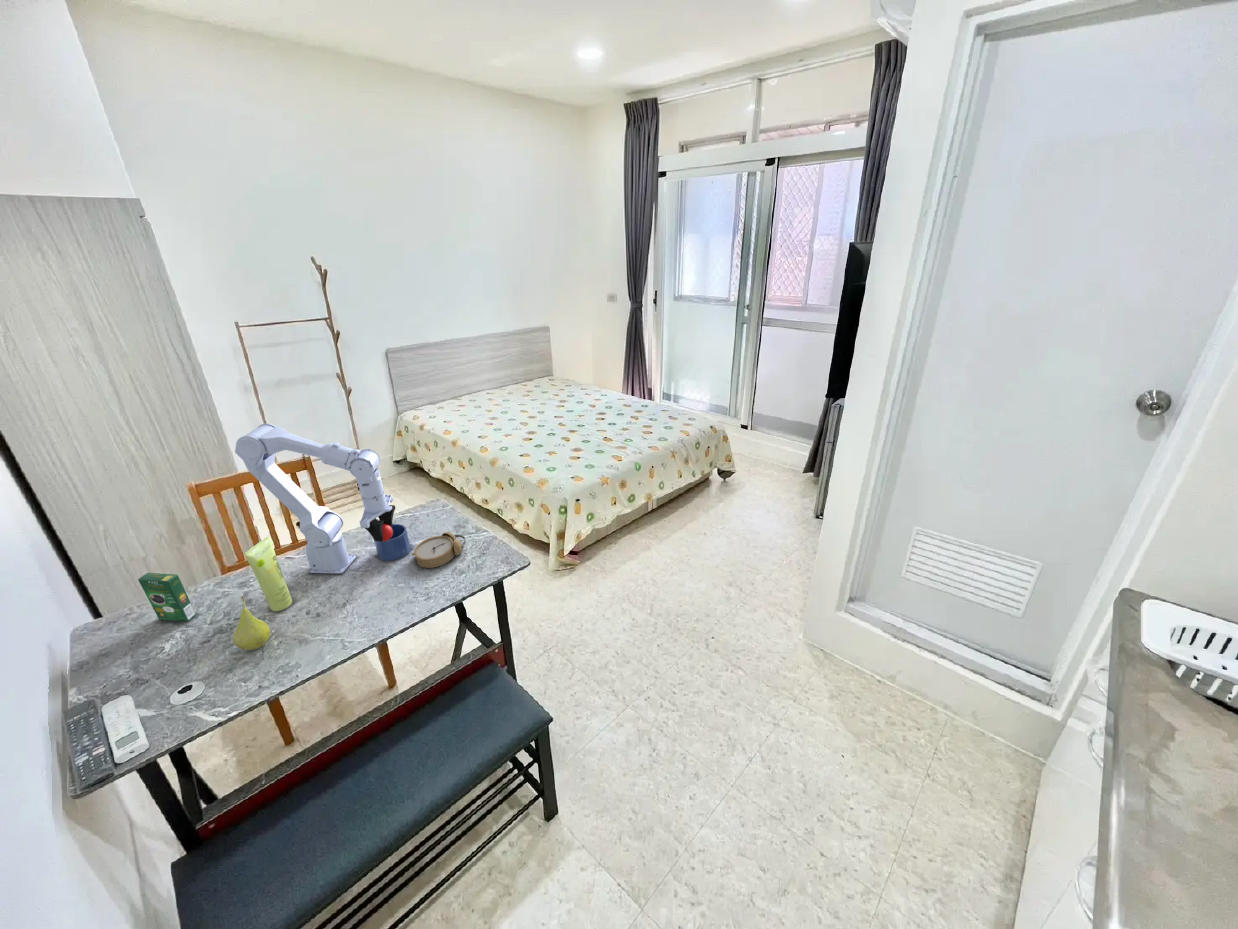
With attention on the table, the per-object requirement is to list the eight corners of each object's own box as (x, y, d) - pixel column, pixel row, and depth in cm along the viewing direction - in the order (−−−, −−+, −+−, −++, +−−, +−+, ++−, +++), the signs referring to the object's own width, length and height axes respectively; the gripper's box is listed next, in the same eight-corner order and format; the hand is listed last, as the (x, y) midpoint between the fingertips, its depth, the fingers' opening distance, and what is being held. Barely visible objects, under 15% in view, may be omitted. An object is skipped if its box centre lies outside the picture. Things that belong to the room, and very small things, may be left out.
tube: (293, 608, 125) (269, 545, 116) (270, 616, 122) (243, 553, 114) (292, 595, 129) (269, 534, 120) (270, 603, 127) (244, 541, 118)
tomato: (372, 545, 136) (367, 527, 134) (380, 534, 141) (376, 517, 138) (389, 545, 136) (385, 527, 134) (397, 535, 141) (393, 517, 138)
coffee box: (199, 614, 123) (178, 573, 117) (189, 622, 120) (167, 580, 115) (169, 612, 123) (147, 571, 118) (158, 621, 121) (135, 579, 115)
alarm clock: (407, 547, 143) (454, 522, 151) (413, 559, 146) (459, 534, 153) (421, 565, 136) (469, 538, 143) (427, 578, 138) (474, 550, 146)
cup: (372, 560, 143) (367, 540, 140) (386, 542, 151) (382, 523, 148) (402, 561, 142) (397, 541, 139) (415, 543, 151) (411, 524, 148)
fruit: (237, 661, 109) (218, 621, 104) (241, 639, 115) (223, 600, 110) (272, 649, 112) (255, 610, 107) (275, 629, 118) (258, 590, 113)
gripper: (373, 507, 125) (385, 550, 131) (399, 481, 138) (408, 521, 144) (347, 507, 126) (359, 550, 131) (375, 481, 139) (385, 521, 145)
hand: (383, 535), depth 138 cm, fingers closed on tomato, 5 cm apart
